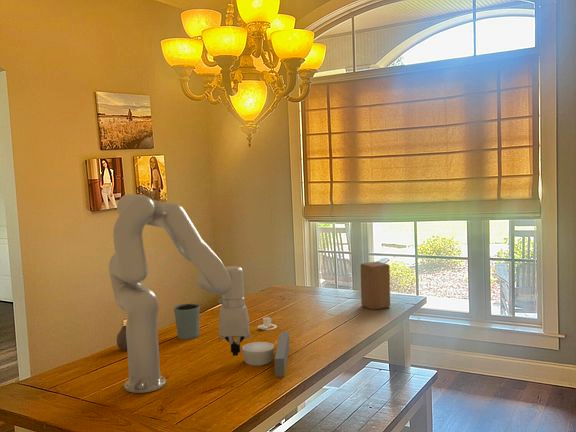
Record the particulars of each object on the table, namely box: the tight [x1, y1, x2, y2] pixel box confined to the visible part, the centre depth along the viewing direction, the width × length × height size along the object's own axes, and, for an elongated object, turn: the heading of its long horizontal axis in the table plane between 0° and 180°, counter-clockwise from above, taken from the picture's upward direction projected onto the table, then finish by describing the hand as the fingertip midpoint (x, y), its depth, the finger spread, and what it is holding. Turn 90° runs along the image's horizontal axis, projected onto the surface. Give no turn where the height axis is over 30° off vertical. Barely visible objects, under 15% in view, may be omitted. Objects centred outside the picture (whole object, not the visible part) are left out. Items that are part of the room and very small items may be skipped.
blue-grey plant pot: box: [173, 303, 201, 340], centre depth 230 cm, size 10×10×12 cm
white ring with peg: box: [257, 316, 278, 331], centre depth 239 cm, size 9×8×4 cm
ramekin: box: [241, 341, 275, 367], centre depth 199 cm, size 11×11×5 cm
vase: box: [116, 325, 127, 351], centre depth 217 cm, size 7×7×9 cm
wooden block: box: [360, 261, 391, 311], centre depth 264 cm, size 10×10×20 cm
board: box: [274, 331, 290, 378], centre depth 198 cm, size 28×3×6 cm, turn 176°
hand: (235, 354), depth 199 cm, fingers closed
